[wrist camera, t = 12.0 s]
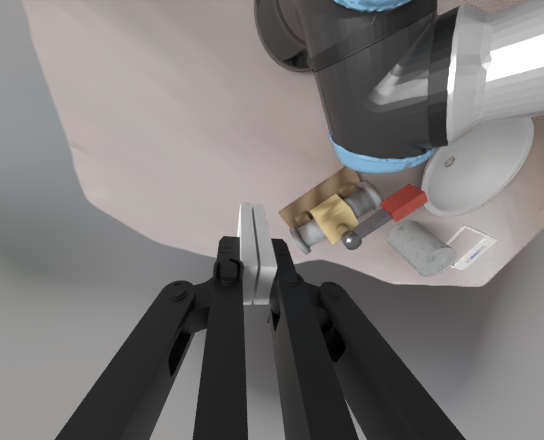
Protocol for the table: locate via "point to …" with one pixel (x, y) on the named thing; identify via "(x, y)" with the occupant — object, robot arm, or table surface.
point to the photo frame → (473, 253)
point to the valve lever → (386, 214)
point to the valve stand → (330, 209)
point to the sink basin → (476, 167)
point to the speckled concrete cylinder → (421, 248)
